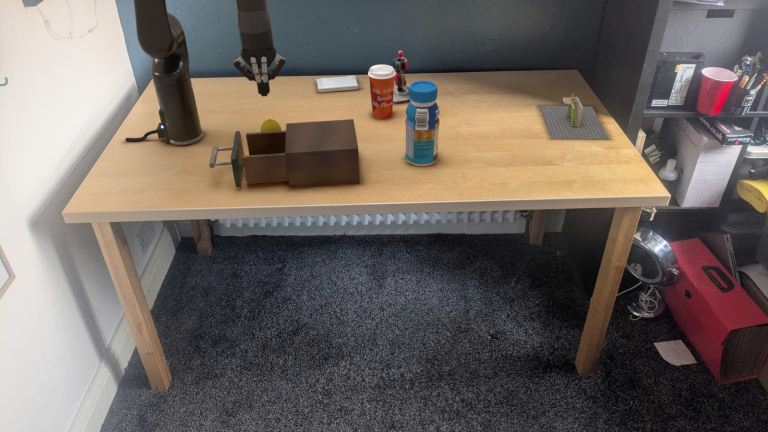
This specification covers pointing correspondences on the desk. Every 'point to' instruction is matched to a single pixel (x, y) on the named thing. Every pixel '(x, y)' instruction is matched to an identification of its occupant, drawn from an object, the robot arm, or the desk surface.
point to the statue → (400, 80)
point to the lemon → (270, 126)
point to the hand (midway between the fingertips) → (264, 94)
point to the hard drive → (337, 84)
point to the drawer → (256, 157)
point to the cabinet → (322, 153)
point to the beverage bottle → (422, 124)
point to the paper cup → (382, 90)
